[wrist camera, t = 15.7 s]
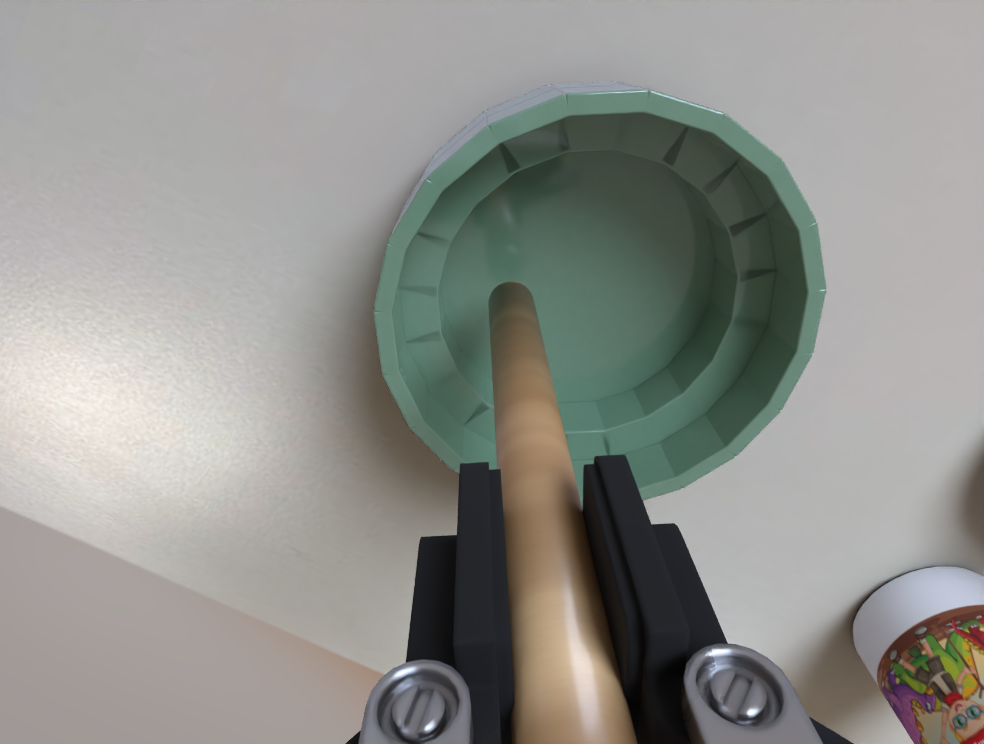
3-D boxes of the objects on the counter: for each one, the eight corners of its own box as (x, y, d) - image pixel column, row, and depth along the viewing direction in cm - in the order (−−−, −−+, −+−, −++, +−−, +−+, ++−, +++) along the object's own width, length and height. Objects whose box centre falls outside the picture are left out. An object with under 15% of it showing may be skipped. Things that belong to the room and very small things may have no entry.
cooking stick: (486, 276, 23) (515, 827, 7) (531, 273, 23) (669, 820, 7) (489, 317, 23) (520, 906, 7) (532, 315, 23) (658, 897, 7)
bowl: (373, 91, 22) (343, 104, 17) (782, 71, 22) (871, 78, 17) (414, 437, 28) (401, 518, 24) (730, 421, 28) (783, 499, 24)
